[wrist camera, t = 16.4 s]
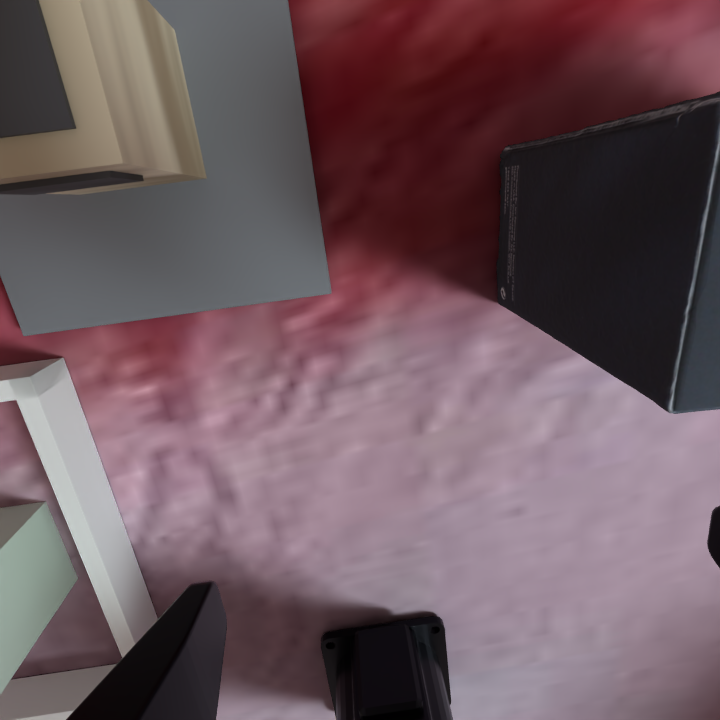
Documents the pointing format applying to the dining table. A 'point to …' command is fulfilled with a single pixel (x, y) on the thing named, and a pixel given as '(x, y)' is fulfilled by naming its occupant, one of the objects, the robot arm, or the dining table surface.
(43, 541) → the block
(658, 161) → the small box
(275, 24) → the mat
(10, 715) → the white square frame
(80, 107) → the labelled block
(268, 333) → the dining table surface
